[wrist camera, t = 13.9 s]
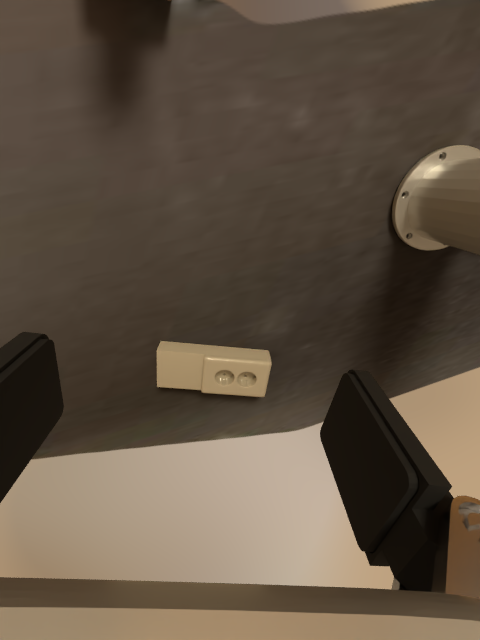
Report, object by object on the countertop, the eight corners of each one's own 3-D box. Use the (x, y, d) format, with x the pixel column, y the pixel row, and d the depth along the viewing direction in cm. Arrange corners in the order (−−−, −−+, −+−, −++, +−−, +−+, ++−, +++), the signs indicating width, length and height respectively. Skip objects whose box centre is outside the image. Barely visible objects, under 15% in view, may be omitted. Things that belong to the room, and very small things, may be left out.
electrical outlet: (155, 353, 42) (272, 363, 44) (161, 339, 46) (269, 349, 48) (155, 390, 46) (264, 398, 47) (161, 374, 49) (262, 382, 51)
